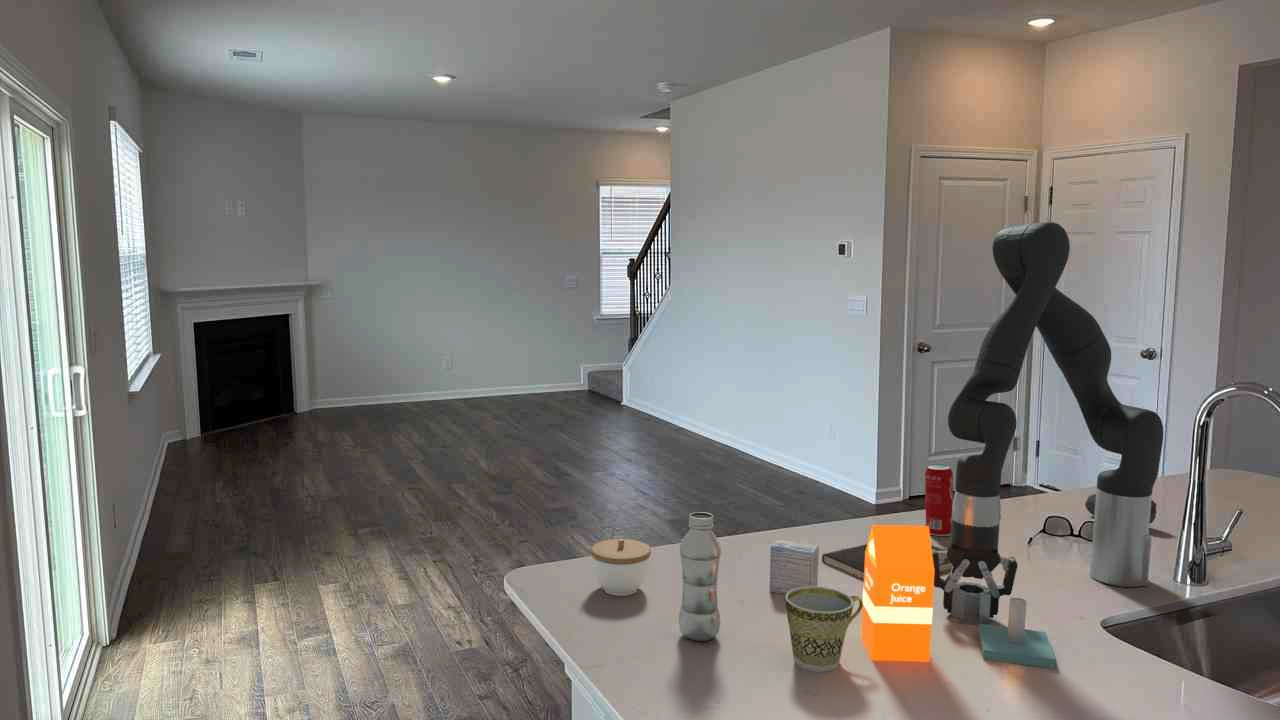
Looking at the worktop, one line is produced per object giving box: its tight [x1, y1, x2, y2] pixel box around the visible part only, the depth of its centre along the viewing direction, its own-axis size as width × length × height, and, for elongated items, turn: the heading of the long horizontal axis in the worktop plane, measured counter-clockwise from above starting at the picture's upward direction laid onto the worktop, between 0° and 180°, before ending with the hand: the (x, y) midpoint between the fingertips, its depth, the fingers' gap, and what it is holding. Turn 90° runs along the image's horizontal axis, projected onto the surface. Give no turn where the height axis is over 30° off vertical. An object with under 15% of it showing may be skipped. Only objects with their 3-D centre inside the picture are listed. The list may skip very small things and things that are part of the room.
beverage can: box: [924, 463, 954, 537], centre depth 196 cm, size 6×6×15 cm
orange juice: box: [860, 524, 935, 663], centre depth 138 cm, size 8×9×20 cm
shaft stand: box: [978, 597, 1056, 669], centre depth 140 cm, size 10×10×8 cm
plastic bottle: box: [678, 511, 722, 642], centre depth 142 cm, size 6×7×20 cm
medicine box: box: [769, 539, 820, 595], centre depth 162 cm, size 8×4×9 cm, turn 65°
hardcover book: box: [821, 543, 953, 579], centre depth 178 cm, size 16×23×2 cm
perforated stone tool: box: [1084, 493, 1158, 525], centre depth 206 cm, size 15×5×7 cm, turn 37°
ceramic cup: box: [784, 586, 863, 673], centre depth 135 cm, size 13×10×10 cm
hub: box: [950, 581, 991, 626], centre depth 152 cm, size 6×6×5 cm
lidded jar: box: [590, 538, 652, 597], centre depth 162 cm, size 11×11×9 cm
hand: (969, 613), depth 152 cm, fingers closed on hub, 6 cm apart
